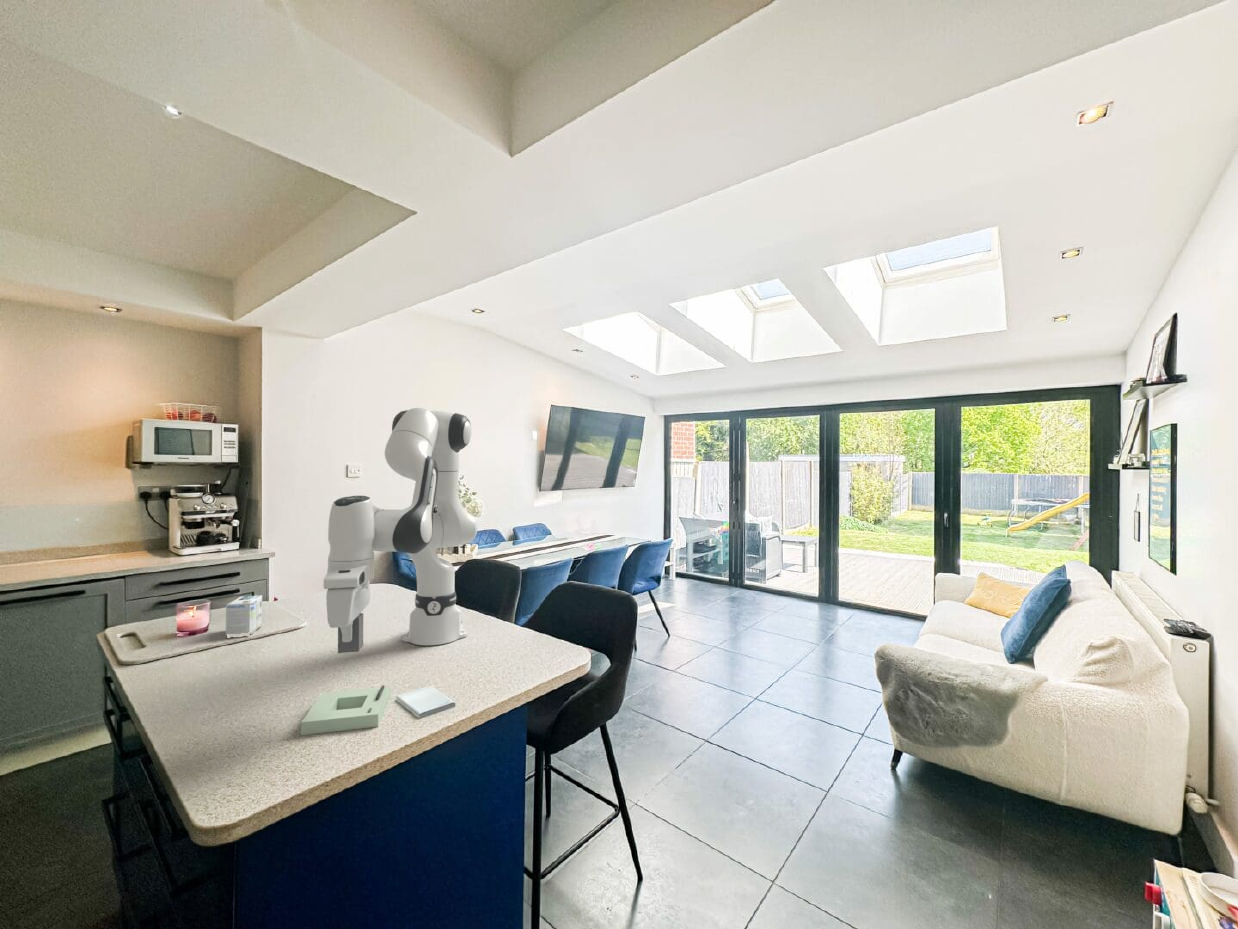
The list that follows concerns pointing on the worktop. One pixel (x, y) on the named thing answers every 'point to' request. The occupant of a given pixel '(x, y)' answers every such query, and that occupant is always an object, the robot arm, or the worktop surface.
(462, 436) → the robot arm
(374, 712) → the outlet plate
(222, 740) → the worktop surface
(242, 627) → the light bulb box
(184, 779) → the worktop surface
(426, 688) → the hard drive
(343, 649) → the plug
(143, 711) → the worktop surface
